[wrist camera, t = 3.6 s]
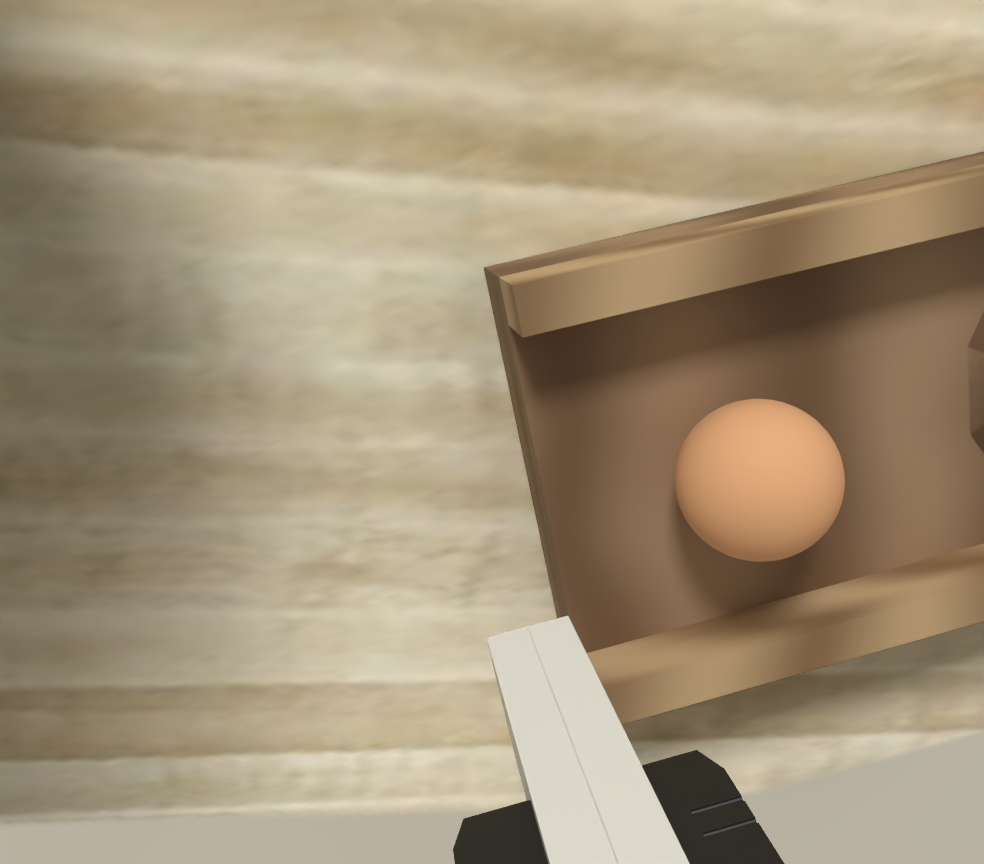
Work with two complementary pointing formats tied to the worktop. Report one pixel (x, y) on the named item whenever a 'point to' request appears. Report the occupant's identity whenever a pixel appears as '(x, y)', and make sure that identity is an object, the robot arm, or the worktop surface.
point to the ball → (759, 480)
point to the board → (758, 375)
